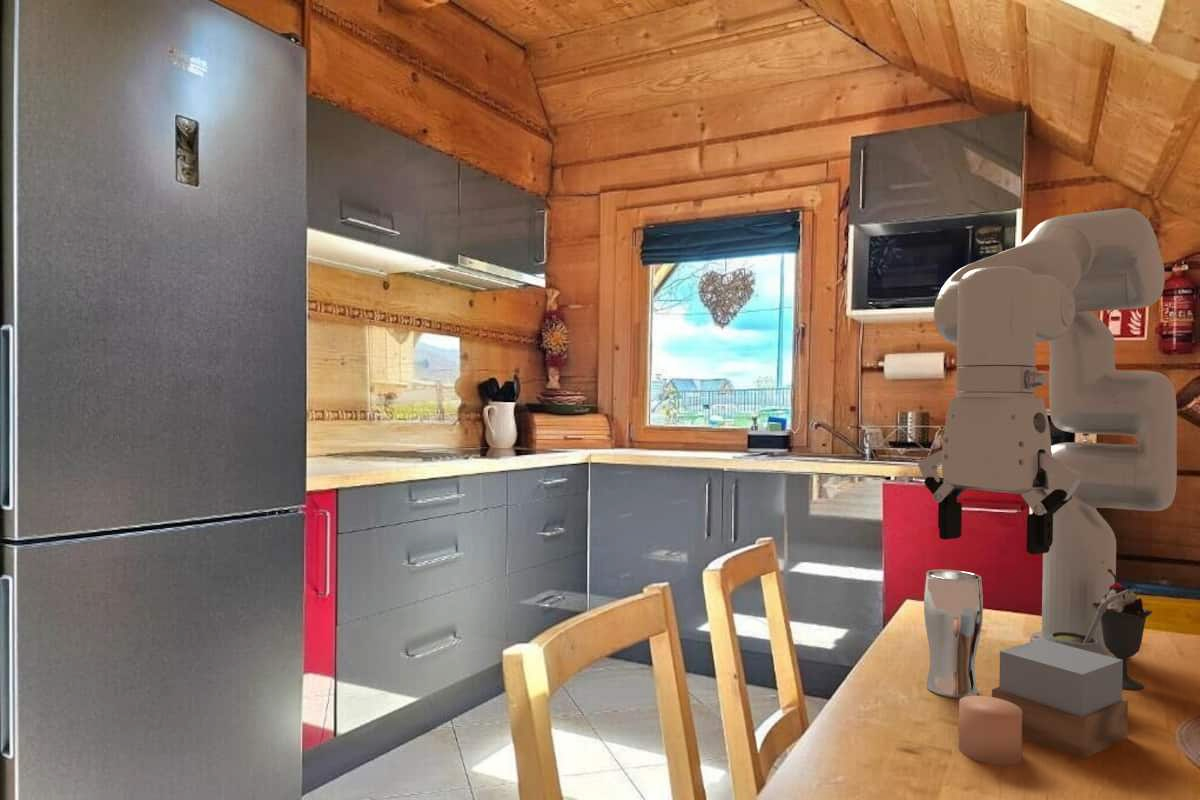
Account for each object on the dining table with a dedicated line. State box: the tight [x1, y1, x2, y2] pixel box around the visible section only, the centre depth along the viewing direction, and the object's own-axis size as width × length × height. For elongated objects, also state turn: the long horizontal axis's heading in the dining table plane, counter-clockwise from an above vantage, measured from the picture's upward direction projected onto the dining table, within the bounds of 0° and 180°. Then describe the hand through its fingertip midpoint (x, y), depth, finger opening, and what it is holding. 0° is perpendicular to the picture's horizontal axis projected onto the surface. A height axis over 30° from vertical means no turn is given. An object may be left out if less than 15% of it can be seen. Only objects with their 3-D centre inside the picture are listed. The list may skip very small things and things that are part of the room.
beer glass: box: [923, 569, 984, 700], centre depth 102 cm, size 7×7×15 cm
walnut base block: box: [991, 686, 1129, 760], centre depth 90 cm, size 10×10×4 cm
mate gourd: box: [1046, 590, 1128, 655], centre depth 99 cm, size 8×8×15 cm
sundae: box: [1092, 569, 1153, 691], centre depth 106 cm, size 7×7×15 cm
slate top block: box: [998, 639, 1123, 717], centre depth 90 cm, size 9×9×4 cm
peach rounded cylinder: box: [958, 695, 1023, 767], centre depth 84 cm, size 6×6×5 cm
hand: (992, 545), depth 84 cm, fingers open, 9 cm apart
